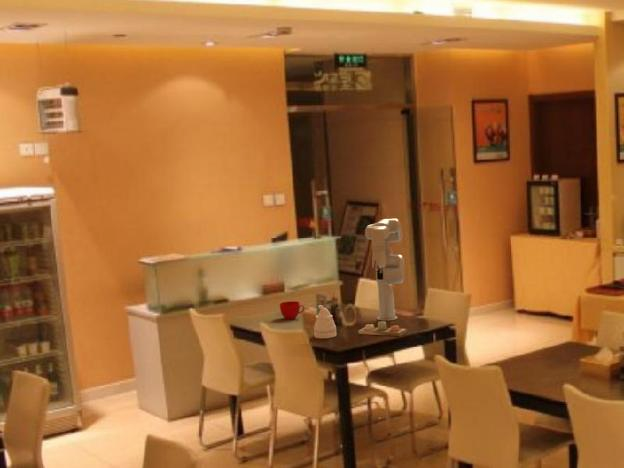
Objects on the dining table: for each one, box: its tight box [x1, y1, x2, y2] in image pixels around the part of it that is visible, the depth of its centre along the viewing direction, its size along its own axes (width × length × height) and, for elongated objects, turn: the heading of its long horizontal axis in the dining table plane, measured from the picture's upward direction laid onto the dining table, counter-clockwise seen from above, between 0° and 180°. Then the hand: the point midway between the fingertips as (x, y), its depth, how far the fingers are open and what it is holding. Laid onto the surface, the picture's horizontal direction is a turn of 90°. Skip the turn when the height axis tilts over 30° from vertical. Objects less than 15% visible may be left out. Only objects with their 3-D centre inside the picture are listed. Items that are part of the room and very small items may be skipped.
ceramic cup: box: [279, 300, 305, 320], centre depth 562 cm, size 13×17×10 cm
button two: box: [377, 321, 387, 330], centre depth 502 cm, size 5×5×4 cm
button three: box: [390, 325, 400, 332], centre depth 498 cm, size 5×5×4 cm
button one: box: [364, 323, 375, 330], centre depth 506 cm, size 5×5×4 cm
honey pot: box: [313, 304, 337, 339], centre depth 504 cm, size 13×13×18 cm
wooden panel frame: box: [357, 326, 408, 337], centre depth 502 cm, size 10×26×2 cm, turn 61°
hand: (380, 279), depth 514 cm, fingers closed
